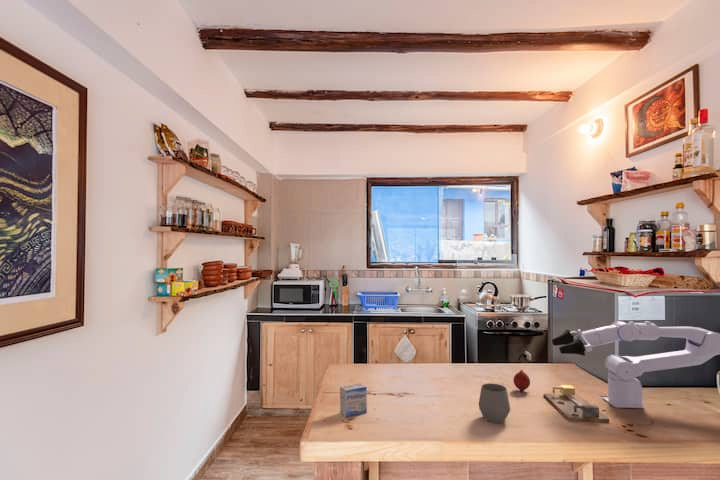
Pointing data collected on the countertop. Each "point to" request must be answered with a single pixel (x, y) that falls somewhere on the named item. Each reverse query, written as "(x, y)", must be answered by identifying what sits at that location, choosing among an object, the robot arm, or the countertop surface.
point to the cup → (494, 402)
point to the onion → (521, 380)
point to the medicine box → (353, 400)
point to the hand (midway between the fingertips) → (556, 346)
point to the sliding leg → (565, 389)
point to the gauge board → (576, 408)
